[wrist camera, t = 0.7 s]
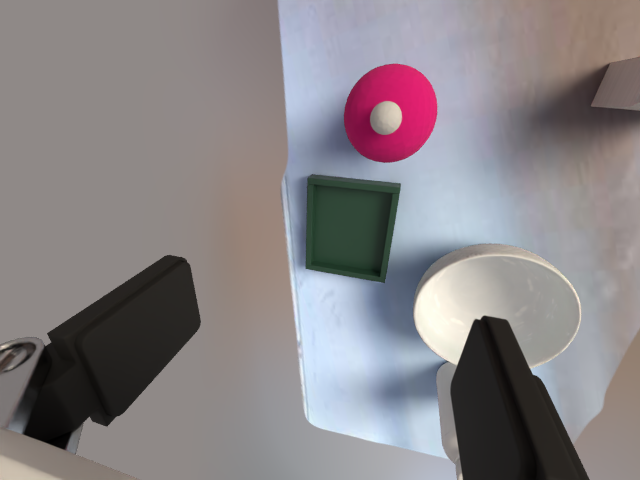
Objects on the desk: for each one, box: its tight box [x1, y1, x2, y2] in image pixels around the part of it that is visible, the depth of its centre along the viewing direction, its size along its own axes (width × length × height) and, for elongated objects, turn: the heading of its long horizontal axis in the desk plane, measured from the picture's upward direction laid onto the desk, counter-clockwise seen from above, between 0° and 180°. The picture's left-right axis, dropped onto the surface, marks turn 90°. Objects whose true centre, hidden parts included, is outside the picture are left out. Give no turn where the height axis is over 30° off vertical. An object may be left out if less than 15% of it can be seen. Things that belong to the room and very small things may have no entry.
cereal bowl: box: [413, 244, 581, 369], centre depth 36 cm, size 17×17×7 cm
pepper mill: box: [344, 64, 437, 163], centre depth 24 cm, size 7×7×20 cm
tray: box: [306, 174, 401, 283], centre depth 40 cm, size 14×12×2 cm
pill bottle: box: [436, 362, 463, 480], centre depth 40 cm, size 8×8×15 cm
